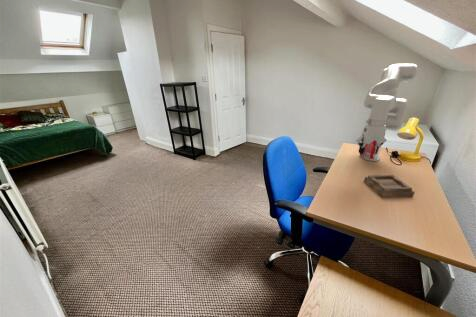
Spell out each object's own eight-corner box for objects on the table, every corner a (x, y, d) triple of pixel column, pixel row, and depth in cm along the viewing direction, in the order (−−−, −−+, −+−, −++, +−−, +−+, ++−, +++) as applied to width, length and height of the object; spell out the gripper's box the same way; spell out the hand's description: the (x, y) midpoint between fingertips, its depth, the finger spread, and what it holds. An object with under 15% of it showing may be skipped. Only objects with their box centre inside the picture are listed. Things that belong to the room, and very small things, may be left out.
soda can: (369, 155, 116) (375, 135, 110) (376, 160, 109) (382, 140, 104) (356, 154, 116) (362, 135, 111) (362, 160, 110) (368, 139, 105)
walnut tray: (363, 181, 118) (365, 174, 116) (390, 180, 118) (392, 173, 116) (382, 197, 103) (385, 190, 101) (412, 196, 104) (415, 189, 102)
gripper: (363, 124, 100) (355, 156, 108) (398, 123, 101) (387, 155, 108) (355, 120, 107) (348, 151, 115) (388, 119, 107) (378, 150, 115)
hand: (367, 153), depth 112 cm, fingers closed on soda can, 7 cm apart
